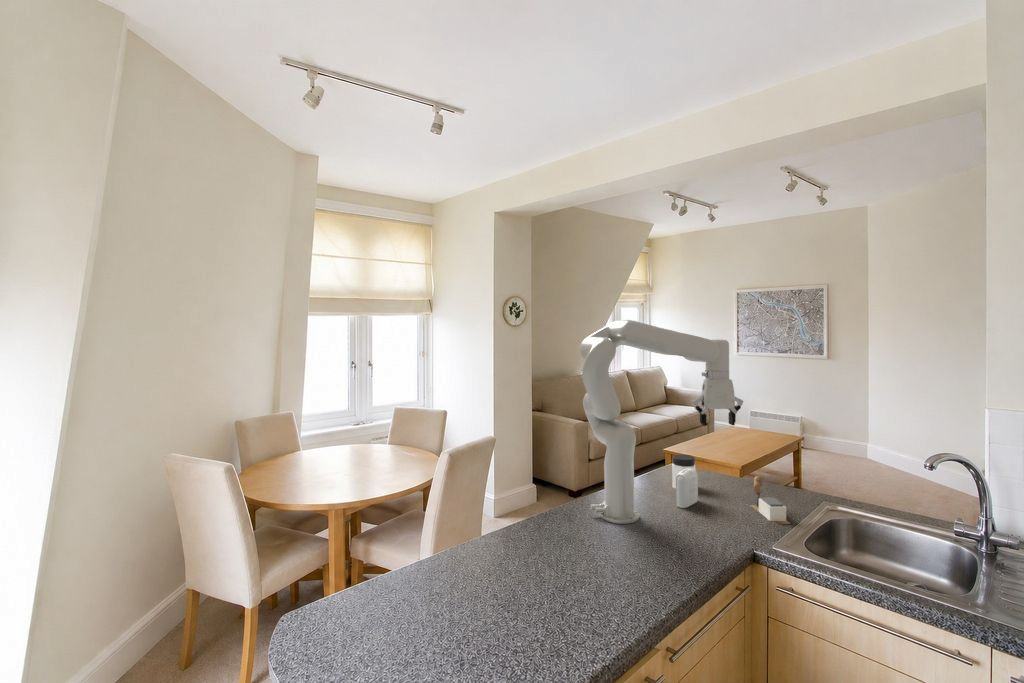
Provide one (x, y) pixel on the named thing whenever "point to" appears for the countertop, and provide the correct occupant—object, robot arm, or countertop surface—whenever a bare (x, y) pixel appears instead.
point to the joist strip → (772, 521)
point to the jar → (681, 465)
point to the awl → (758, 487)
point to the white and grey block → (772, 509)
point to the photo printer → (686, 488)
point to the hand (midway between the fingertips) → (717, 424)
